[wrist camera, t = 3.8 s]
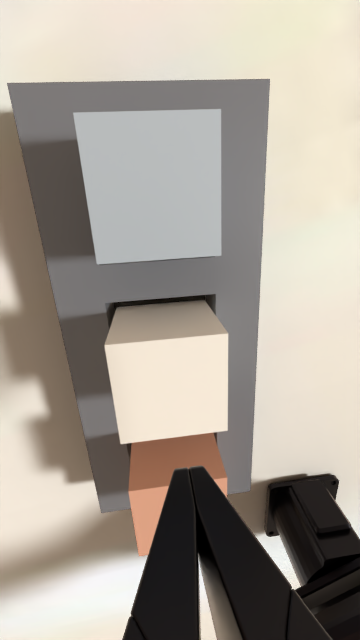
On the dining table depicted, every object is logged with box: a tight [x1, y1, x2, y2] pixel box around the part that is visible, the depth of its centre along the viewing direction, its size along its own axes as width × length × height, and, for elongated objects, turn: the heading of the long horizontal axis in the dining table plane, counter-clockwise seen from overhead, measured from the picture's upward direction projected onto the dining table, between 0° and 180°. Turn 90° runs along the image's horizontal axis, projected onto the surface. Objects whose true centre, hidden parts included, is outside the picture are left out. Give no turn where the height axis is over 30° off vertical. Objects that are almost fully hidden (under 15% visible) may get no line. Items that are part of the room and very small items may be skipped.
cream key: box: [104, 300, 228, 444], centre depth 14 cm, size 5×5×5 cm
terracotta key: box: [128, 433, 227, 556], centre depth 17 cm, size 5×5×5 cm
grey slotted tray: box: [7, 79, 270, 513], centre depth 18 cm, size 25×11×3 cm, turn 3°
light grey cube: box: [73, 109, 221, 264], centre depth 13 cm, size 5×5×5 cm
